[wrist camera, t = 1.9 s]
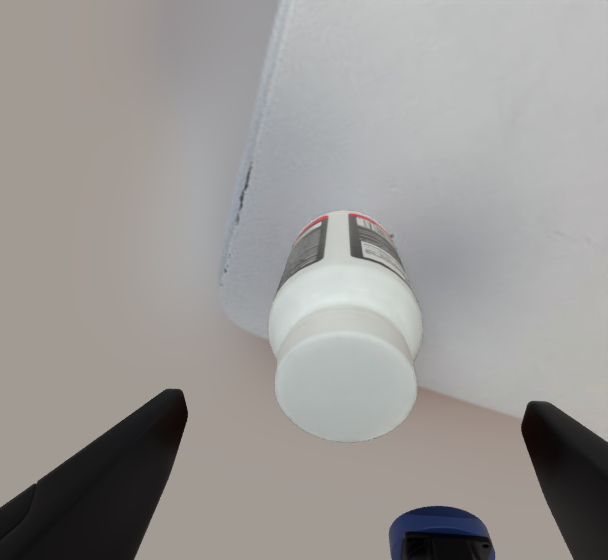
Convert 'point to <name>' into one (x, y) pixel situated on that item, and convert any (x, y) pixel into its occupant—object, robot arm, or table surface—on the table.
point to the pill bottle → (345, 331)
